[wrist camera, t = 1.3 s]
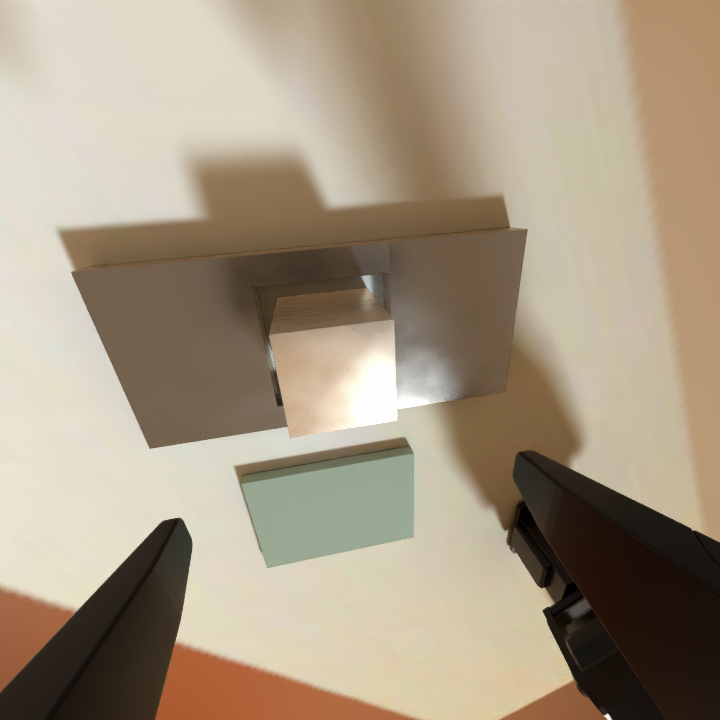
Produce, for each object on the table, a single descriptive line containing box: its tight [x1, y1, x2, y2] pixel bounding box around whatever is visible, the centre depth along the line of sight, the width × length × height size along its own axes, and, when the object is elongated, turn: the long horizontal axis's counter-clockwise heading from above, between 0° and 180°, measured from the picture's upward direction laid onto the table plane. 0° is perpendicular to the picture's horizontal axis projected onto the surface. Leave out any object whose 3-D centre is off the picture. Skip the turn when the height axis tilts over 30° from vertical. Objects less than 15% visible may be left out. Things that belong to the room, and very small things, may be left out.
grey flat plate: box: [71, 228, 527, 449], centre depth 19 cm, size 22×10×2 cm, turn 94°
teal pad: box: [241, 446, 414, 568], centre depth 25 cm, size 12×9×1 cm
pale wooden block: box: [269, 288, 397, 438], centre depth 17 cm, size 5×5×6 cm
